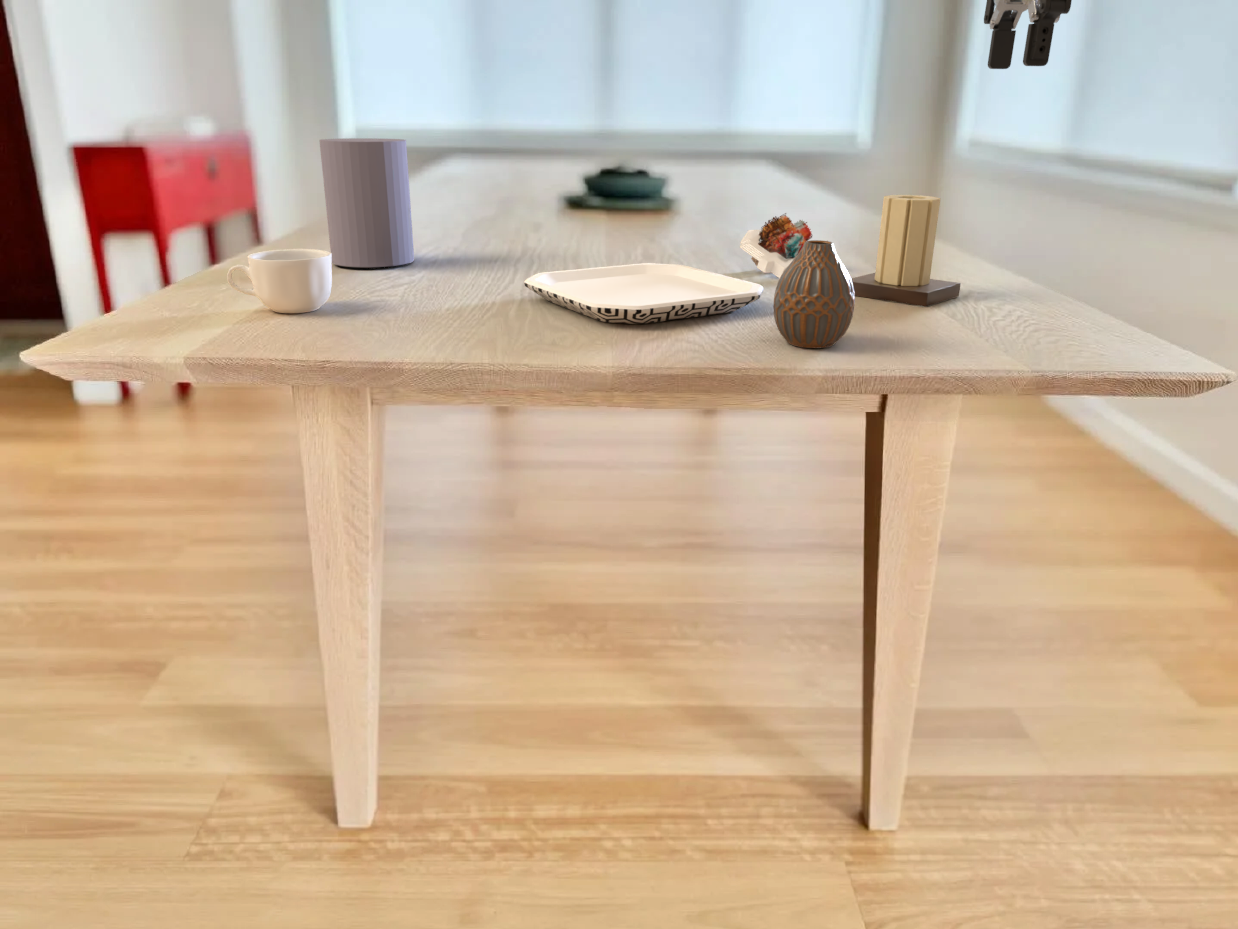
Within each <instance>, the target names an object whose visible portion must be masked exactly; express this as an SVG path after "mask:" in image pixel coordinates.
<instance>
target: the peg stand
mask: <svg viewBox="0 0 1238 929" xmlns="http://www.w3.org/2000/svg"><path fill="white" fill-rule="evenodd" d="M851 279H852V282H853V286H854V293H855V297H861V298H868V299H873V300H879V301H880V300H881V301H887V302H893V303H897V304H898V303H899V304H906V305H912V306H917V307H924V308H927V307H929V306H933V305H936V304H940V303H942V302H946V301H949V300H952V299H955V298H959V296H960V291H961V282H956V281H948V280H943V279H936V278H935V279H934V278H930V282H929V284H926V285H923V286H919V285H918V286H901V285H898V286H895V285H889V284H883V283H879V282H877V281H876V280H875V272H872V273H868V274H864V275H860V276H855V277H851Z"/></svg>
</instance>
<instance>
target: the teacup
mask: <svg viewBox="0 0 1238 929" xmlns="http://www.w3.org/2000/svg"><path fill="white" fill-rule="evenodd" d="M247 262H248V265H244V264H236V265H235V264H234V265H233V266H231V267H230V268H229V269H228V271H227V274H226V280H227V282H228V285H229V286H230V287H231V288H232V289H234V290H235V291H237V292H239V293H241V294H245V295H249V296H253V297H256V298H258V299H259V301H260V302H261V303H262V304H263V305H264V306H265V307H266V308H268V309H269V310H271V311H273V312H275V313H278V314H303V313H309V312H310V313H311V312H314V311H317V310H319V309H320V308H321V307H323V306H324V305H325V304H326V303H327V301H328V300H329V298H330V296H331V293H332V287H333V286H332V285H333V269H332V268H333V266H332V264H333V263H332V254H331V251H328V250H324V249H317V248H315V249H313V248H288V249H287V248H284V249H272V250H263V251H258V252H253V253H250V254H248V255H247ZM235 271H240V272H242V273H244V274H245V275H246V276H247V277H248V279H249V280H250V281H251V283H252V287H253V288H245V287H241V286H239V285H237V284H236V283H235V282H234V281H233V274H234V273H233V272H235Z"/></svg>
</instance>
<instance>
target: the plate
mask: <svg viewBox="0 0 1238 929" xmlns="http://www.w3.org/2000/svg"><path fill="white" fill-rule="evenodd" d="M523 284H524V286H525V287H526V288H527V289H529V290H531V291H532V292H534V293H535V294H537V295H538V296H540V297H542V298H543V299H545V300H547V302H550V303H552V304H555V305H557V306H560V307H562V308H565V309H568V310H571V311H573V312H576V313H578V314H581V315H583V316H585V317H586V316H587V317H588V318H591V319H593V320H596V321H599V322H601V323H602V322H603V323H610V324H623V325H625V324H626V325H627V324H628V325H630V324H631V325H645V324H652V323H659V322H660V323H661V322H669V321H675V320H684V319H691V318H699V317H707V316H715V315H722V314H731V313H734V312H736V311H737V310H740V309H742V308H744V307H745V306H748V305H749V304H751V303H753V302H755V301H758V300H760V298H762V294H763V293H764V290H765V289H764V288H765V287H763V285H761V284H760V283H756V282H753V281H749V280H748V281H747V280H744V279H741V278H737V277H732V276H728V275H725V274H721V273H717V272H713V271H709V270H705V269H700V268H697V267H693V266H688V265H685V264H676V263H657V262H656V263H654V262H643V263H632V264H621V265H609V266H598V267H590V268H589V267H588V268H578V269H576V268H575V269H567V270H566V269H565V270H555V271H544V272H537V273H535V274H534V275H531V276H529V277H528V278H526V279H525V280H524V281H523Z"/></svg>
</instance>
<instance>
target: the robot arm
mask: <svg viewBox="0 0 1238 929" xmlns="http://www.w3.org/2000/svg"><path fill="white" fill-rule="evenodd" d="M1071 7H1072V0H986V3H985V10H984V17H983V24H984V25H989V29H990V30H992V32H991V37H990V38H991V39H990V45H989V52H988V59H987V67H988V68H989V69H990V70H1007V69H1009V68H1010V67H1011V65H1012V60H1013V52H1014V45H1015V40H1016V33H1017V30H1016V28H1017V26H1018V24H1019V21H1020V18H1021V17H1022V14H1023V13H1024V12H1025V11H1028V12H1027V13H1028V18H1029V22H1030V23H1028V26H1027V31H1026V32H1027V33H1026V38H1025V45H1024V50H1023V51H1024V52H1023V57H1022V65H1024V66H1025V67H1045V66H1046V65H1048V63H1049V60H1050V59H1049V58H1050V52H1051V47H1052V40H1053V36H1054V35H1053V34H1054V28H1055V24H1057V23H1058V22H1059V20H1060V18H1061V15H1067V14H1069V12H1070V10H1071Z"/></svg>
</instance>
